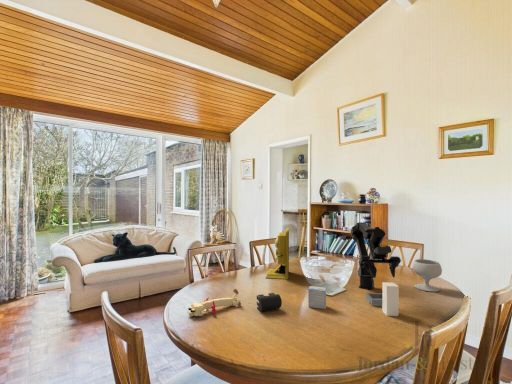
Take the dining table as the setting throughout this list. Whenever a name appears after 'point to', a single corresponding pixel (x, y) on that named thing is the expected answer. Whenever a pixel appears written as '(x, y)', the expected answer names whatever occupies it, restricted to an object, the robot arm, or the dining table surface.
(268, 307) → the end cap
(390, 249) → the robot arm
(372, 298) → the dock tray
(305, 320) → the dining table surface
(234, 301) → the cat figure
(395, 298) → the block
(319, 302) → the medicine box
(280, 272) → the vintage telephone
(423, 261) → the chalice
